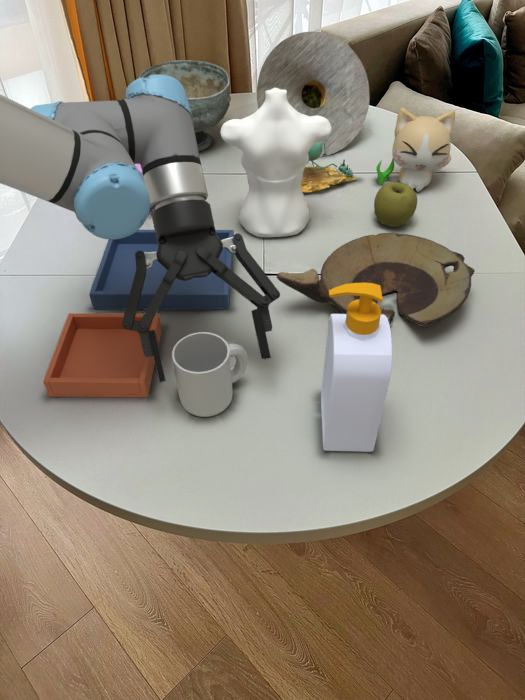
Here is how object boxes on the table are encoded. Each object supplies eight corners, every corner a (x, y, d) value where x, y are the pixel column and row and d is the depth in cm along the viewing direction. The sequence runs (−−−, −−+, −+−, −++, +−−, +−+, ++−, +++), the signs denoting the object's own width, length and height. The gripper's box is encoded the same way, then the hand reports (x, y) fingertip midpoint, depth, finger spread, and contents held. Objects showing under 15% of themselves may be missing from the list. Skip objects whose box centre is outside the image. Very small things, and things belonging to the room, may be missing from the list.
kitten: (374, 194, 113) (385, 120, 102) (374, 169, 120) (384, 98, 109) (450, 199, 111) (470, 124, 100) (446, 174, 118) (463, 101, 107)
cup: (171, 389, 78) (162, 344, 71) (235, 363, 81) (232, 317, 75) (193, 426, 73) (186, 382, 67) (260, 397, 77) (259, 351, 70)
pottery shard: (474, 354, 82) (489, 315, 76) (271, 332, 85) (271, 293, 80) (462, 261, 97) (473, 223, 92) (289, 246, 101) (291, 208, 95)
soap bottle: (314, 396, 77) (327, 260, 60) (366, 397, 76) (393, 261, 60) (317, 452, 70) (331, 317, 54) (373, 453, 70) (405, 318, 54)
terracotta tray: (49, 396, 77) (42, 382, 75) (73, 328, 86) (68, 313, 84) (147, 397, 77) (144, 382, 75) (162, 328, 86) (159, 313, 84)
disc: (364, 158, 138) (342, 55, 135) (385, 137, 120) (360, 18, 118) (265, 181, 136) (241, 77, 134) (272, 163, 119) (244, 44, 116)
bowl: (214, 170, 120) (209, 98, 109) (133, 156, 124) (121, 86, 114) (246, 130, 133) (244, 63, 122) (171, 119, 137) (163, 54, 127)
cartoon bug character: (357, 198, 112) (357, 126, 101) (268, 202, 115) (259, 132, 104) (358, 174, 118) (358, 103, 108) (273, 178, 121) (265, 109, 111)
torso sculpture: (318, 208, 109) (328, 73, 91) (326, 237, 102) (338, 98, 84) (225, 213, 108) (216, 77, 90) (227, 242, 102) (218, 103, 84)
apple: (379, 236, 103) (385, 202, 97) (365, 213, 108) (370, 179, 103) (418, 231, 104) (426, 197, 98) (402, 208, 109) (409, 174, 104)
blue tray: (93, 308, 89) (88, 294, 87) (115, 243, 102) (111, 229, 99) (228, 309, 89) (227, 294, 87) (234, 244, 101) (233, 229, 99)
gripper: (268, 198, 77) (299, 349, 78) (83, 229, 73) (118, 389, 73) (280, 182, 70) (315, 349, 71) (75, 215, 65) (115, 393, 66)
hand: (215, 370), depth 72 cm, fingers open, 13 cm apart
